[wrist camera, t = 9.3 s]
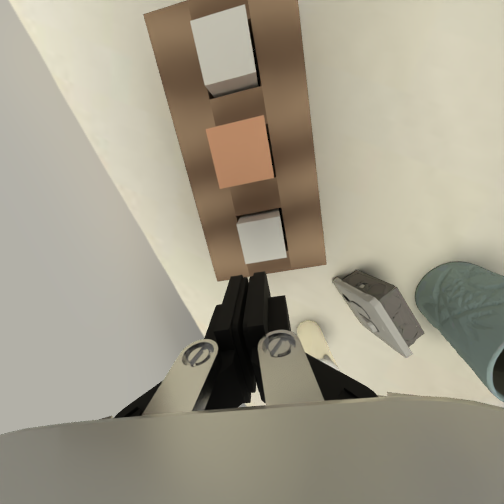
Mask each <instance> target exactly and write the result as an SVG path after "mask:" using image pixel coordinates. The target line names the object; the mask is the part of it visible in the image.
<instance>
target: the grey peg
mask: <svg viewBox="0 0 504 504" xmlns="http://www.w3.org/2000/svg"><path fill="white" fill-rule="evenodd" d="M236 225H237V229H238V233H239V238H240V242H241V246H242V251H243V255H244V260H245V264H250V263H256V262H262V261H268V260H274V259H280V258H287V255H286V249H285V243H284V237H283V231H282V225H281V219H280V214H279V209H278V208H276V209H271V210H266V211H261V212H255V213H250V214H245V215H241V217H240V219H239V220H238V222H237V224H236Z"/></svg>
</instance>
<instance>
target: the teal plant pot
mask: <svg viewBox="0 0 504 504" xmlns="http://www.w3.org/2000/svg"><path fill="white" fill-rule="evenodd" d="M415 299H416V304H417V307H418V308H419V310H420V312H421V313H422V314H423V315H424V316H425V317H426V318H427V320H428V321H429V322H430V323H431V324H432V325H433V326H434V327H435V328H437V329H438V330H439V331H440V332H441V334H442V335H443V336H444V337H445V339H446V340H447V341H448V342H449V343H450V344H451V346H452V347H453V348H454V349H455V350H456V351H457V353H458V354H459V355H460V356H461V357H462V358H463V359H464V361H465V362H466V363H467V364H468V365H469V366H470V367H471V368H472V370H473V371H474V372H475V374H476V375H477V376H478V377H479V379H480V380H481V381H482V382H483V383H484V385H485V386H486V387H487V388H488V389H489V390H490V392H491V393H492V394H493V395H494V396H496V397H497V398H498V399H499V400H501V401H503V402H504V276H501V275H499V274H496V273H493V272H491V271H489V270H486V269H484V268H482V267H479V266H476V265H474V264H471V263H466V262H450V263H446V264H443V265H441V266H438V267H436V268H435V269H433V270H431V271H430V272H429V273H427V274H426V275H425V276H424V277H423V279H422V280H421V281H420V283H419V285H418V287H417V289H416V294H415Z"/></svg>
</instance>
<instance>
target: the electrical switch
mask: <svg viewBox="0 0 504 504" xmlns="http://www.w3.org/2000/svg"><path fill="white" fill-rule="evenodd" d="M333 283H334V285H335V286H336V288H337V289H338V291H339V292H340V294H341V295H342V297H343V298H344V300H345V301H346V302H347V304H348V305H349V307H350V308H351V310H352V311H353V313H354V314H355V316H356V317H357V319H358V320H359V321H360V323H361V324H362V325H363V326H364V327H366V328H367V329H368V330H369V331H371V332H372V333H373V334H375V335H376V336H377V337H379V338H380V339H381V340H382V341H384V342H385V343H386V344H388V345H389V346H390V347H392V348H393V349H394V350H396V351H397V352H398V353H400V354H401V355H402V356H404V357H405V358H407V357H409V356H410V355H412V354H413V353H412V352H411V350H410V349H409V346H410V345H412V344H413V343H414V342H415V341H416V339H417V338H419V337H420V336H421V335H423V334H424V331H423V330H422V328H421V326H420V325H419V323H418V321H417V320H416V318H415V316H414V315H413V313H412V311H411V310H410V308H409V306H408V305H407V303H406V301H405V300H404V298H403V297H402V295H401V293H400V292H399V290H398V288H397V287H395V286H394V285H391V284H389V283H387V282H384V281H382V280H380V279H377V278H375V277H372V276H370V275H368V274H365V273H363V272H360V271H358V270H356V271H355V272H353V273H352V274H351V275H349V276H347V277H346V278H344V279H343V280H341V279H340V278H338V277H337V278H335V279H334V280H333ZM394 287H395V288H394ZM393 288H394V289H393ZM392 289H393V290H392ZM416 326H417V327H416Z"/></svg>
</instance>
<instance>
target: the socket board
mask: <svg viewBox="0 0 504 504" xmlns="http://www.w3.org/2000/svg"><path fill="white" fill-rule="evenodd" d="M244 4H245V8H246V14H247V20H248V26H249V32H250V38H251V45H252V48H254V49H255V55H256V61H257V67H258V73H259V80H260V87H256V88H252V89H248V90H244V91H240V92H236V93H233V94H229V95H225V96H221V97H217V98H214V97H213V95H212V94H211V93H210V92H209V90H208V89H207V88H206V87H205V84H204V80H203V76H202V71H201V67H200V63H199V58H198V54H197V49H196V45H195V41H194V36H193V32H192V28H191V23H190V21H192V20H195V19H198V18H202V17H205V16H208V15H211V14H215V13H218V12H221V11H224V10H228V9H231V8H234V7H237V6H241V5H244ZM143 15H144V19H145V22H146V26H147V30H148V33H149V37H150V40H151V44H152V48H153V51H154V55H155V58H156V62H157V66H158V69H159V73H160V76H161V80H162V84H163V87H164V91H165V94H166V98H167V102H168V105H169V109H170V113H171V116H172V120H173V123H174V127H175V131H176V134H177V138H178V141H179V145H180V149H181V152H182V156H183V159H184V163H185V167H186V170H187V174H188V177H189V181H190V185H191V188H192V192H193V195H194V199H195V203H196V206H197V210H198V213H199V217H200V221H201V224H202V228H203V231H204V235H205V239H206V242H207V246H208V249H209V253H210V257H211V260H212V264H213V268H214V271H215V275H216V278H217V281H224V280H230V277H231V276H237V275H243V277H249V276H253V275H254V273H256V272H263V271H265V272H266V274H269V273H275V272H281V271H288V270H294V269H300V268H307V267H313V266H320V265H326V255H325V245H324V236H323V227H322V218H321V209H320V200H319V190H318V181H317V172H316V163H315V154H314V145H313V135H312V126H311V117H310V108H309V99H308V90H307V80H306V71H305V62H304V53H303V44H302V35H301V25H300V16H299V7H298V0H187V1H184V2H181V3H178V4H174V5H171V6H168V7H165V8H162V9H159V10H156V11H152V12H149V13H146V14H143ZM262 115H264V119H265V125H266V131H268V135H269V141H270V147H271V153H272V159H273V165H274V171H275V175H274V178H271V179H266V180H261V181H256V182H252V183H247V184H242V185H237V186H232V187H227V188H223V189H220V188H219V184H218V179H217V175H216V171H215V167H214V163H213V159H212V154H211V150H210V146H209V142H208V138H207V134H206V129H208V128H212V127H216V126H220V125H225V124H229V123H233V122H237V121H241V120H245V119H249V118H253V117H258V116H262ZM276 208H281V214H282V220H283V226H284V232H285V238H284V243H285V249H286V255H287V258H280V259H274V260H268V261H262V262H256V263H250V264H245V260H244V255H243V251H242V246H241V242H240V238H239V233H238V229H237V225H236V224H237V222H238V220H239V219H240V217H241V215H245V214H250V213H255V212H261V211H266V210H271V209H276Z"/></svg>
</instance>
